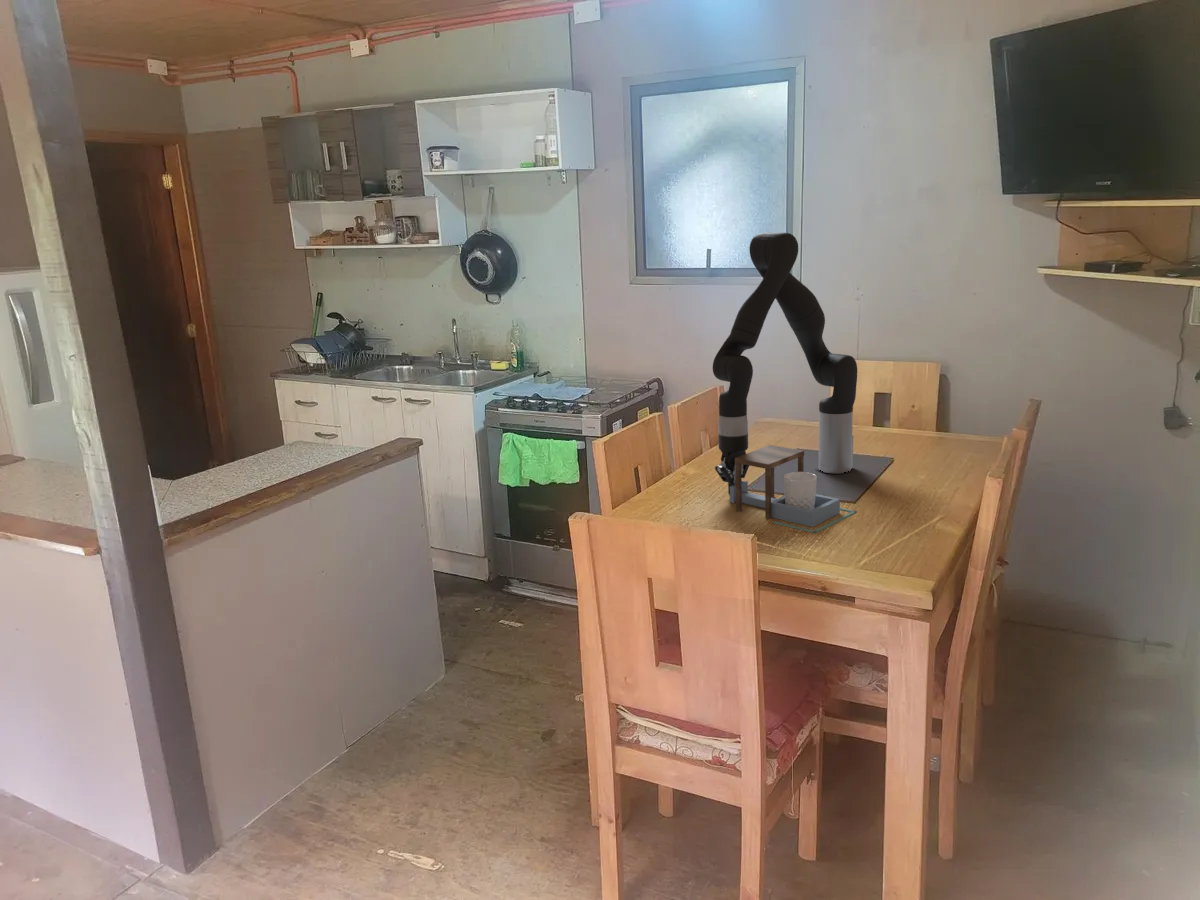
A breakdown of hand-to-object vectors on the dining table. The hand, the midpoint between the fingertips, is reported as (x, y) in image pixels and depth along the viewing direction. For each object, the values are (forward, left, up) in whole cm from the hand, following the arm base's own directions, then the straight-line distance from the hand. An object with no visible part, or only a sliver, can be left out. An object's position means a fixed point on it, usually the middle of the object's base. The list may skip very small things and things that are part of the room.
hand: (734, 495), depth 227 cm
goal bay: (0, +24, -1) cm, 24 cm away
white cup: (0, +20, -1) cm, 20 cm away
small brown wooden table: (0, +11, -1) cm, 11 cm away
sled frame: (0, +14, -1) cm, 14 cm away
